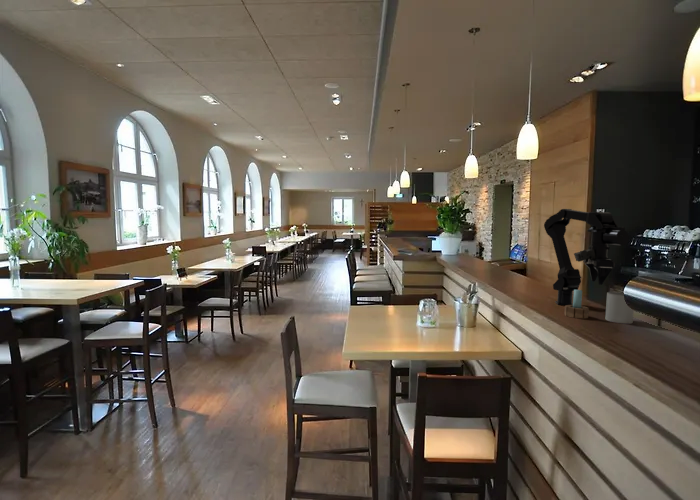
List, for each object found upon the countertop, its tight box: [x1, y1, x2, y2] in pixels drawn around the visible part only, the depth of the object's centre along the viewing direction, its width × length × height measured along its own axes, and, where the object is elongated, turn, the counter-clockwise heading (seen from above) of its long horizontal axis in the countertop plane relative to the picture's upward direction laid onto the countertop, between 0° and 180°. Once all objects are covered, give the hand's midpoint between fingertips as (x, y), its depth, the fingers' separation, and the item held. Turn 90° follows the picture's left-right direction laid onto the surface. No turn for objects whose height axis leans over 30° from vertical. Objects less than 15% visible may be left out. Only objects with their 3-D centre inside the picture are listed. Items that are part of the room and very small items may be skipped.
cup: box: [604, 291, 635, 324], centre depth 150 cm, size 8×8×10 cm
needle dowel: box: [572, 289, 583, 308], centre depth 155 cm, size 3×3×10 cm
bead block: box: [564, 305, 590, 319], centre depth 156 cm, size 8×8×4 cm
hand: (596, 282), depth 162 cm, fingers open, 9 cm apart
